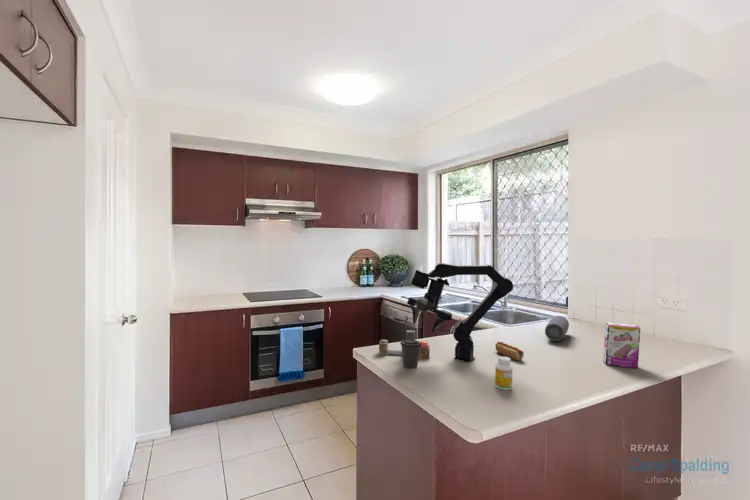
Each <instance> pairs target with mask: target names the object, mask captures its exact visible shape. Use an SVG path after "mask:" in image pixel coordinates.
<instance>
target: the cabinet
mask: <svg viewBox="0 0 750 500" xmlns="http://www.w3.org/2000/svg"><path fill="white" fill-rule="evenodd" d="M430 347H431V346H430V344H428V349H427V348H420V350H419V357H418V359H430V353H431V352H430V350H431V349H430Z"/></svg>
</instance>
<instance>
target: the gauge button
mask: <svg viewBox="0 0 750 500" xmlns="http://www.w3.org/2000/svg"><path fill="white" fill-rule="evenodd" d="M420 343H421V346H420V348H427V349H428V345H429V344H428V341H426V340H421V341H420Z"/></svg>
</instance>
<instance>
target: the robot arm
mask: <svg viewBox="0 0 750 500" xmlns="http://www.w3.org/2000/svg"><path fill="white" fill-rule="evenodd" d="M482 275H483V276H487V277H488V278H489V279H490V280H491V281H493V282H494V283H493V285H492V287H491V289H490V291H489V293H488V294H487V295H486V296H485V297H484V298H483V300H481V302H480V303H479V304H478V305H477V306H476V307H475V309H474V310H472V312H471V313H470V314H469V315H468V316H467V317H466V318H465V319H462V318H459V319H458V321H457V322H455V324H453V328H452V335H453V338H454V340H455V341H456V344H455V346H454V357H453V359H454V360H457V361H460V362H464V363H470V362H472V361H474V360H475V359H476V358H475V356H474V350H475V349H474V346H475V345H474V340H473V338H472V336H471V333H472V332H473V329H474V327H475V326H476V325H477V324H478V323H479V322H480V321H481V319H482V318H483V317H484V316H485V315H486V314H487V313H488V311H489V310H490V309H491V308H492V307H493V306H494V305H495V304H496V303H497V302H498V301H499V300H501V299H502V298H505V296H507V295H508V294H509V293H511V292H512V291H513V289H514V284H513V281H512V280H510V278H507V277H506V276H505V277H504V276H503V275H501V274H500V273H499V272H498V271H497V270H496V269H495V267H493V266H492V265H490V264H483V265H478V264H477V265H473V264H472V265H456V264H451V263H445V262H438V263H437V264H435V267H434V269H432V270H431V271H429V272H428V273H427V272H425V271H421V270H420V269H415V272H414V274H413V276H412V279H411V283H410V286H414V287H416V288H420V289H423V290H424V289H425V288H428V289H427V292H425V294H424V295H423V297H420V298H417V297H409V298H408V300H407V303H406V304H407V305H408V307H409V308H411V311H412V323H413V325H415V324H416V323H417V321H418V318H419V314H420V312H421V311H422V312H428V311H429V312H430V313H434V314H435V315H437V317H435V322H434V324H433V326H432V330H431V333H432V334H434V333H435V332H436V331H437V329H438V328H439V327H440V326H441V325H442V324H443V323H444V322H448V321H451V320H452V318H453V315H452V312H450V311H447V310H444V309H439V307H440V306H439V303H440V300H442V298H443V297H442V294H443V291H444V287H445V286H448V287H449V286H450V283H449V281H448V278H450V277H454V276H482ZM436 278H437V279H436ZM444 278H445V279H444ZM428 285H429V286H428Z"/></svg>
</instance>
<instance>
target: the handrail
mask: <svg viewBox="0 0 750 500" xmlns="http://www.w3.org/2000/svg"><path fill="white" fill-rule="evenodd" d="M387 355H388V356H389V355H391V356H402V349H401V350H399V349H387Z"/></svg>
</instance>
